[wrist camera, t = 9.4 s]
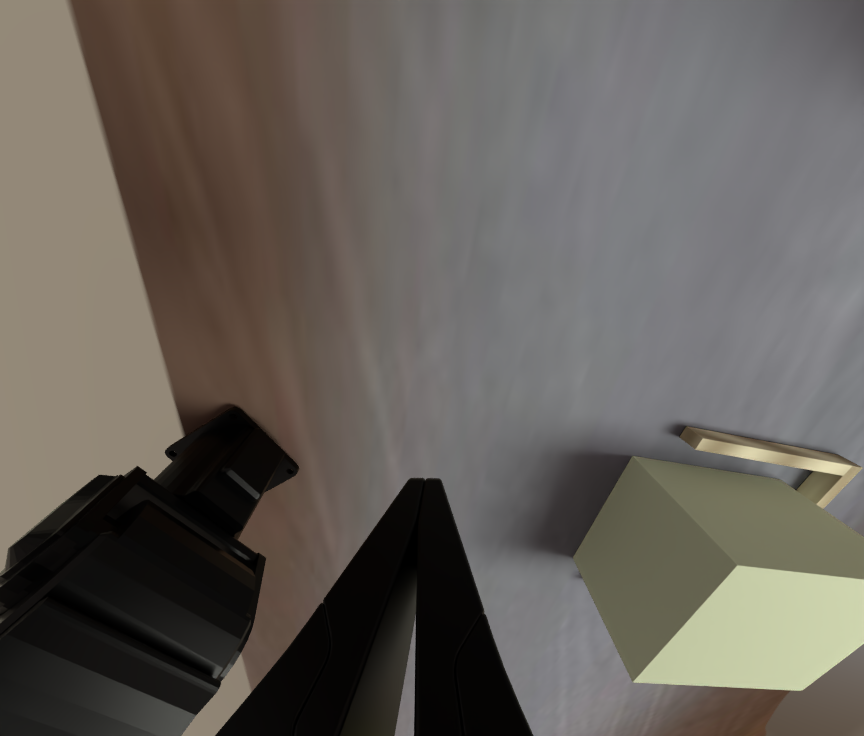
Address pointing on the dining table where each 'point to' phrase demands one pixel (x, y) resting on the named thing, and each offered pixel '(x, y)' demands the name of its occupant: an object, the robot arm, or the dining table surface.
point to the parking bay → (782, 460)
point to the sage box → (722, 578)
